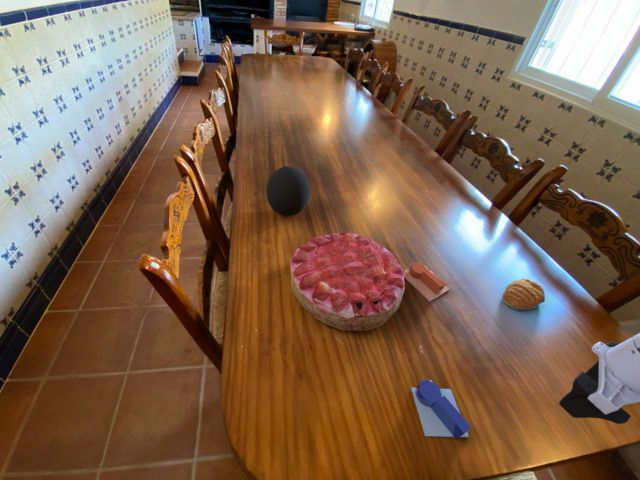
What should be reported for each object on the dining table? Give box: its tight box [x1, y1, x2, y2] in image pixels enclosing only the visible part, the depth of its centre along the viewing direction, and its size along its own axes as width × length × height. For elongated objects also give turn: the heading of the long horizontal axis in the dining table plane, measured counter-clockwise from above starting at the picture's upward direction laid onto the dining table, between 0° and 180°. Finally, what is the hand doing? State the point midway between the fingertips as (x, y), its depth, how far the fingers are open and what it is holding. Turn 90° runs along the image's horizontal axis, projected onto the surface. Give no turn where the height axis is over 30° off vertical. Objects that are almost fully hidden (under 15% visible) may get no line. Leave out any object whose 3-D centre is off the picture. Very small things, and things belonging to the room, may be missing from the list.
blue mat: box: [410, 387, 470, 439], centre depth 49 cm, size 7×7×1 cm
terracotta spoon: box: [408, 261, 447, 295], centre depth 70 cm, size 8×4×3 cm, turn 30°
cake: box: [289, 231, 406, 332], centre depth 66 cm, size 25×25×8 cm
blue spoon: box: [415, 379, 472, 440], centre depth 49 cm, size 8×4×3 cm, turn 30°
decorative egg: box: [265, 165, 312, 217], centre depth 83 cm, size 12×12×15 cm
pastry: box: [502, 278, 546, 311], centre depth 68 cm, size 9×7×4 cm
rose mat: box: [404, 267, 450, 303], centre depth 71 cm, size 9×7×1 cm
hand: (579, 395), depth 44 cm, fingers open, 7 cm apart
